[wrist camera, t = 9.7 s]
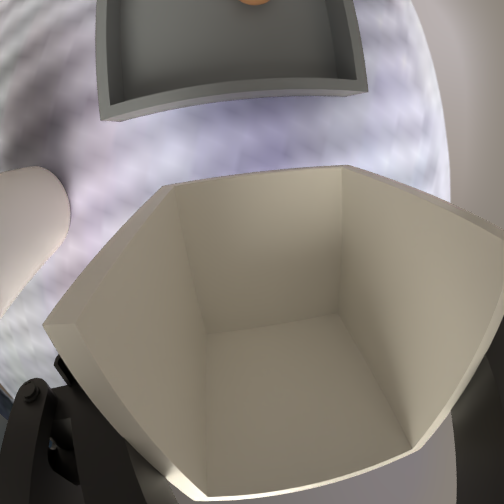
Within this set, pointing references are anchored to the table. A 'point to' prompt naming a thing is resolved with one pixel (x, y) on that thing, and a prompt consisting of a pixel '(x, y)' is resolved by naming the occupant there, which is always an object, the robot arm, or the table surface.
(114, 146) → the table surface
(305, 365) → the cream open-top bin
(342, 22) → the tray
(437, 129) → the table surface
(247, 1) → the ball
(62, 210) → the candle holder
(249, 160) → the table surface
